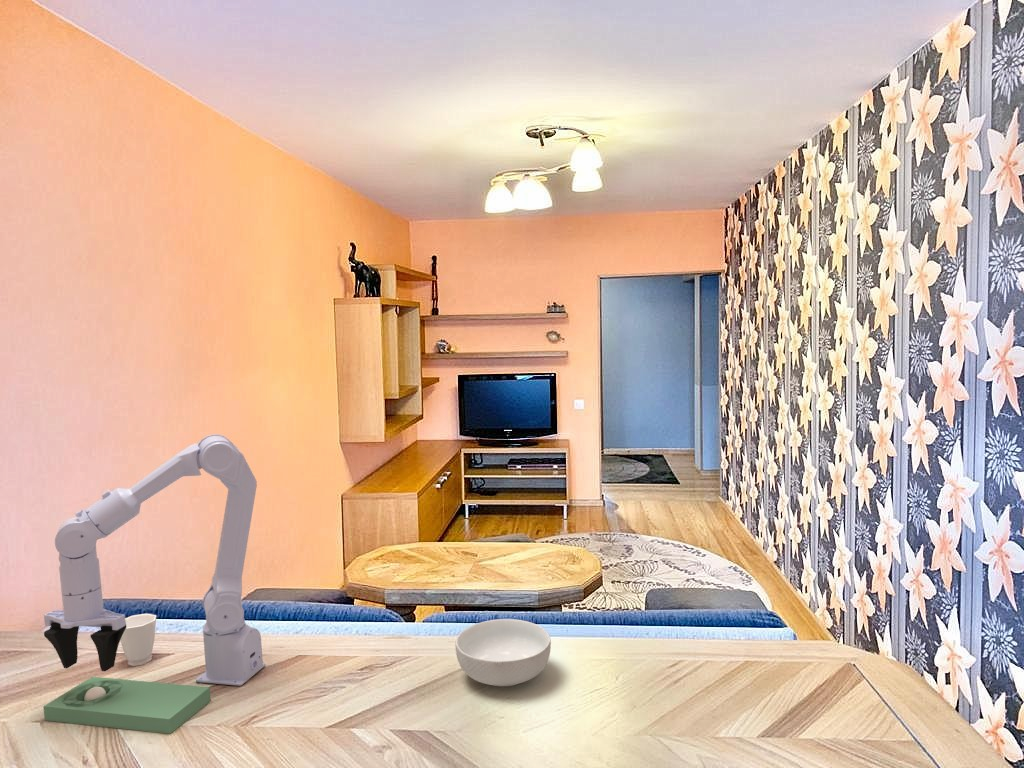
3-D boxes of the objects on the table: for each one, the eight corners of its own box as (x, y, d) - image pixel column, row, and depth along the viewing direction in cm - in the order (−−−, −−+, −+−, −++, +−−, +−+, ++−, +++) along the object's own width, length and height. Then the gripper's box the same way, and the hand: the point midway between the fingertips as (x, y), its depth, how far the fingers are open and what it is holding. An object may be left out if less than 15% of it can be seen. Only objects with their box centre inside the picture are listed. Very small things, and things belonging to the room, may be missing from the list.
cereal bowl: (440, 691, 120) (438, 651, 120) (480, 649, 136) (478, 614, 135) (532, 708, 114) (531, 666, 114) (563, 662, 129) (562, 625, 129)
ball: (99, 703, 121) (113, 697, 120) (84, 713, 118) (98, 707, 117) (92, 686, 121) (105, 680, 120) (76, 695, 118) (90, 690, 117)
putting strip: (210, 700, 120) (209, 687, 120) (170, 733, 110) (169, 719, 110) (93, 689, 125) (91, 676, 125) (44, 720, 116) (43, 706, 115)
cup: (125, 673, 131) (122, 631, 131) (110, 656, 138) (107, 616, 138) (165, 660, 136) (162, 619, 135) (149, 644, 143) (146, 606, 143)
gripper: (25, 596, 116) (33, 675, 117) (99, 600, 112) (106, 681, 113) (61, 581, 122) (68, 655, 124) (132, 584, 119) (138, 661, 120)
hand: (89, 667), depth 119 cm, fingers open, 7 cm apart
